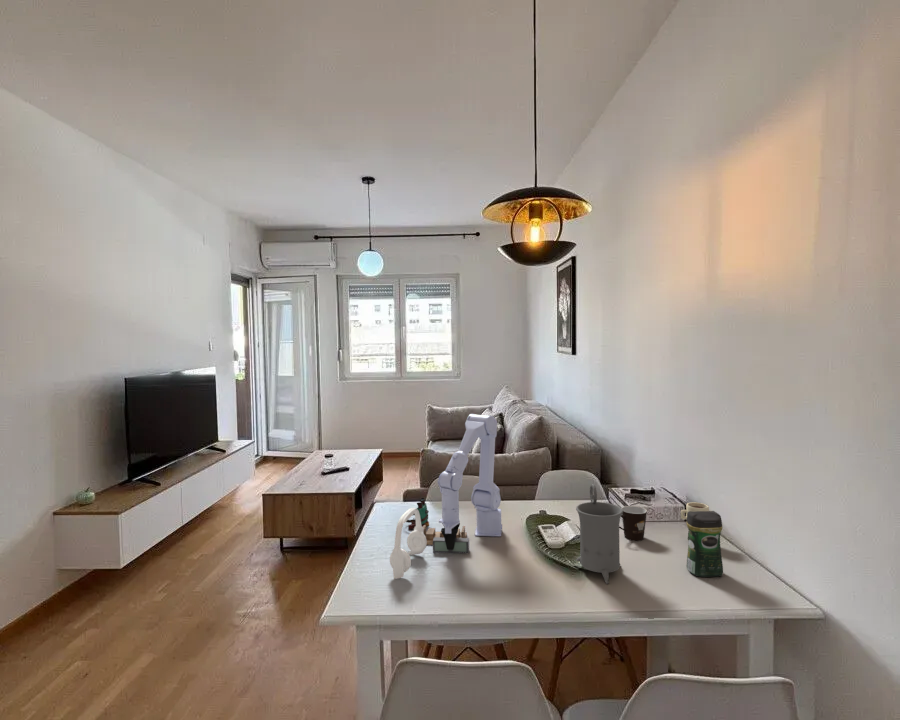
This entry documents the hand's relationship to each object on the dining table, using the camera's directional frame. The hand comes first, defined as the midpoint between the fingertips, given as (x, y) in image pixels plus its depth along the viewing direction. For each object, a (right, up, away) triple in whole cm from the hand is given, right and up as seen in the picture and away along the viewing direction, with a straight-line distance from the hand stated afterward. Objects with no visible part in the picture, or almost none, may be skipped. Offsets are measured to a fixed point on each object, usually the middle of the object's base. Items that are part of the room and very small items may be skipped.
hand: (451, 547), depth 178 cm
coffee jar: (+76, -1, -19) cm, 79 cm away
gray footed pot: (+45, -2, -16) cm, 48 cm away
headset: (-13, -2, -11) cm, 18 cm away
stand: (-3, -1, +10) cm, 11 cm away
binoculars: (-13, -1, +24) cm, 27 cm away
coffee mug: (+64, 0, +10) cm, 64 cm away
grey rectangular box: (0, -1, 0) cm, 1 cm away
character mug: (+85, 0, +4) cm, 85 cm away
